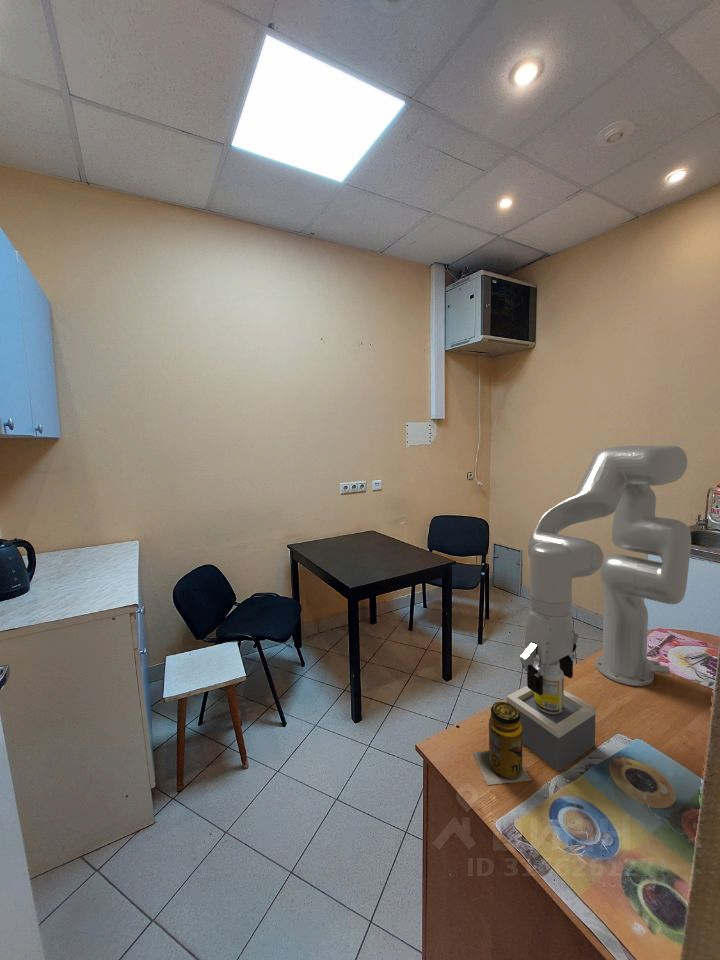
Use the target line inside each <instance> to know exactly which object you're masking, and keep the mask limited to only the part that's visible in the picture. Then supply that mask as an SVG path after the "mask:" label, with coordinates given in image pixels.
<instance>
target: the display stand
mask: <svg viewBox="0 0 720 960" xmlns="http://www.w3.org/2000/svg"><path fill="white" fill-rule="evenodd" d="M506 703H509V704H512V705H513V706H515V707H516V708H517V709H518V711H519V713H520V723H521V726H522V745H524V746H525V747H526V748H527V749H529V750H530V751H531V752H533V753H534V754H535V755H536V756H537V757H539V758H540V760H542V761H544V762H545V763H546V764H547V765H548V766H550V767H551V768H553V769H554V770H555V771H556V772H557V773H559V772H560V771H563V769H565V768H566V767H567V766H569V765H570V764H572V763H573V762H575V760H577V759H579V757H580V758H581V756H583V755H584V754H586V752H588V751H589V750H591V749H592V748H593V747H595V746H596V711H597V708H595V707H594V706H592V705H590V704H589V703H587V702H585V701H583V700H582V699H580V698H579V697H576V696H575V695H574V694H571V693H570V692H569V691H566V690H565V689H564V708H563V711H562V712H561V713H559V714H548V713H545V712H543V711H541V710H540V709H539V708H538V707H537V706H536V705H535V702H534V691H532V690H531V689H529V688H528V687H527V685H526V686H524V687H522V688H519V689H518V690H515V691H514V692H512V693H510V694H508V695H506Z"/></svg>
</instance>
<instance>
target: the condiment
mask: <svg viewBox="0 0 720 960" xmlns="http://www.w3.org/2000/svg"><path fill="white" fill-rule="evenodd" d="M488 749H489V750H484V751H473V752H472V753H473V756H474V758H475V760H476V763H477V765H478V767H479V770H480V773H481V774H482V776H483V778H484V781H485V783H486V785H487V786H491V785H497V784H499V785H500V784H506V783H507V784H510V783H511V784H512V783H521V782H529V781H531V780H532V778H531V776H530V775H529V774H528V772H527V770H526V769H525V767H524V765H523V744H522V726H521V723H520V713H519V711H518V709H517V708H516V707H515V706H513V705H512V704H509V703H507V701H497V702H494V703H493V704H492V706H491V708H490V718H488Z"/></svg>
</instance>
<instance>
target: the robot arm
mask: <svg viewBox="0 0 720 960" xmlns="http://www.w3.org/2000/svg"><path fill="white" fill-rule="evenodd" d="M687 468H688V457H687V454H686V451H685V450H684V449H683V448H681V447H680V446H677V445H622V446H621V445H620V446H613V447H607V448H604V449H601V450H599V451H598V452H597V453H595V455H593V457H592V460H591V461H590V463H589V465H588V467H587V470H586V472H585V474H584V476H583V477H582V480H581V481H580V484H579V486H578V488H577V489H576V492H575V493H574V494H573V495H571V496H570V497H568V498H565V499H563V500H562V501H561V502H559V503H557V504H555V505H554V506H552V507H551V508H550V509H549V510H547V511H545V513H544V514H542V516H541V517H539V520H538V522H537V524H536V526H535V527H534V529H533V531H532V533H531V536H530V538H529V541H528V544H527V553H528V556H529V565H530V567H529V571H530V574H529V575H530V584H529V585H530V588H529V591H530V592H529V593H530V594H529V595H530V596H529V597H530V602H529V603H530V604H529V606H530V607H529V608H530V610H529V611H528V613H527V616H526V617H527V618H526V623H525V630H524V631H525V632H524V646H523V647H524V648H523V649H524V651H523V653H522V654H521V655H520V656H519V661H520V664H521V665H522V666H521V667H522V668H523V669H524V670H525V671H526V674H527V675H526V676H527V677H526V682H527V683H526V684H527V685H526V686H527V687H528V688H529V689H531V690H532V691H534V692H535V693H537V694H538V695H542V694H543V676H541V673H542V671H543V668H544V666H545V665H549V664H551V663H553V662H555V661H557V660H558V661H559V663H560V669H561V670H562V671H563V673H564V677H566V678H568V679H572V678H573V676H574V675H573V674H574V661H573V660H574V659H575V657H576V656H575V650H576V649H577V643H578V639H579V633H576V632H574V623H573V622H574V621H573V614H572V613H573V611H572V607H573V605H572V604H573V603H572V598H573V597H572V596H573V595H572V592H573V590H572V589H573V583H572V582H573V581H572V580H573V579H575V578H584V577H588V576H591V575H593V574H595V573H597V572H598V571H599V570H600V571H599V572H600V579H601V580H600V581H601V584H602V590H603V627H602V628H603V629H602V630H603V631H602V635H603V636H602V654H601V655H600V656H598V657H597V658H596V660H595V666H596V669H597V671H598V672H600V673H601V674H602V675H603V676H605V677H606V678H608V679H610V680H612V681H615V682H617V683H620V684H623V685H627V686H634V687H645V686H648V685H650V684H652V683H653V682H654V678H655V677H654V674H656V673H659V674H662V675H663V674H664V675H670V673H671V670H670V666H667V665H661V662H660V661H659V660H652V659H650V660H649V658H648V657H647V655H648V633H649V632H648V629H649V625H648V624H649V611H648V608H647V606H646V604H645V602H644V601H643V599H646V600H650V601H653V602H658V603H662V604H667V605H678V604H680V603H681V602H682V601H683V599H684V598H685V595H686V591H687V584H688V576H689V567H690V558H691V557H690V556H691V548H692V535H691V530H690V528H689V527H688V524H686V523H685V522H683V521H681V520H678V519H673V518H667V517H660V516H659V517H657V516H656V505H657V496H656V493H655V492H654V491H653V489H652V488H651V486H652V487H655V486H664V485H667V484H670V483H674V482H676V481H679V480H680V479H681V478H682V477H683V476H684V474H685V472H686V471H687ZM612 514H613V519H612V520H613V521H612V530H611V539H612V540H611V541H612V543H613V544H614V546H616V547H617V548H618V549H619V548H620V549H621V550H626V551H629V552H633V553H635V552H636V553H639V554H646V555H652V556H656V557H659V558H660V559H661V561H655V560H649V559H645V558H643V557H642V558H641V557H636V556H632V555H631V556H630V555H625V554H610V555H608V556H606V557H604V553H603V550H602V548H601V547H600V546H599V545H598V544H597V543H595V542H594V541H591V540H588V539H584V538H579V537H573V536H570V535H562V534H559V533H560V532H562V531H563V530H564V529H566V528H568V527H570V526H573V525H576V524H579V523H583V522H588V521H592V520H596V519H597V520H598V519H602V518H606V517H608V516H611V515H612ZM537 656H538V658H537ZM539 659H541V660H539ZM535 662H536V663H537V664H538V663H539V664H538V667H537V669H536V668H535V666H534V663H535Z"/></svg>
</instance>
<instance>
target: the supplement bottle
mask: <svg viewBox="0 0 720 960" xmlns="http://www.w3.org/2000/svg"><path fill="white" fill-rule="evenodd" d="M538 659H539V658H538ZM539 660H541V659H539ZM538 664H539V663H538V662H537V664H536V665H535V666H534V668H536V669H537V667H538ZM541 676H543V694H542V695H538V694H537V693H535V692H534V702H535V705H536V706H537V707H538V708H539V709H540V710H541V711H543V712H545V713H548V714H559V713H561V712H562V711H563V708H564V690H565V676H564V673H563V671H562V670H561V669H560V663H559V661H558V660H557V661H555V662H553V663H551V664H549V665H545V666H544V668H543V671H542V673H541Z"/></svg>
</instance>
